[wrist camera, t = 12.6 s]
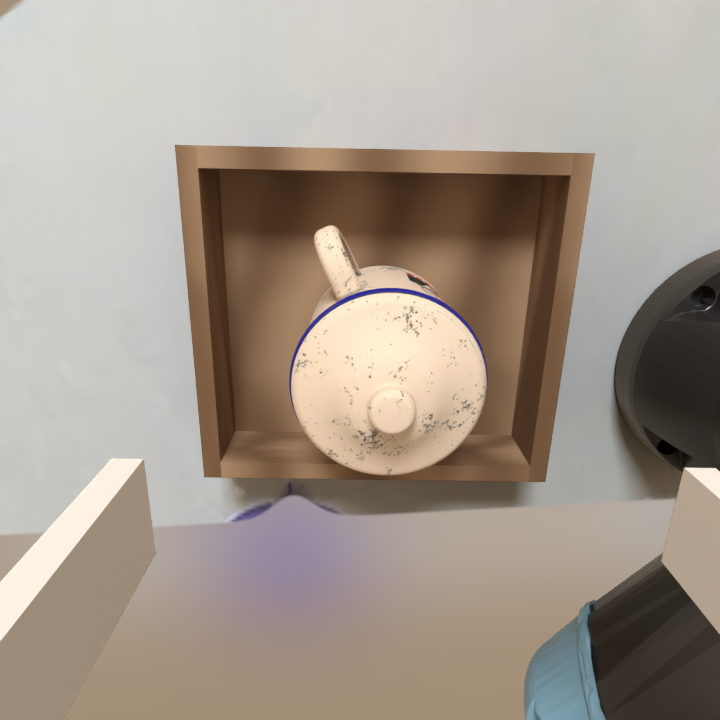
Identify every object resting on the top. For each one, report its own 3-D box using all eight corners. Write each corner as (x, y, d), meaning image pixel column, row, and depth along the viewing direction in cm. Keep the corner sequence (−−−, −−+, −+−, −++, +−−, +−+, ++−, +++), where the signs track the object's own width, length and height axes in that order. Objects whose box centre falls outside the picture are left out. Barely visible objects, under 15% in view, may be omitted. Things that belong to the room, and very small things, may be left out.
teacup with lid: (476, 370, 33) (536, 465, 22) (344, 424, 34) (337, 541, 23) (402, 185, 29) (429, 188, 18) (257, 253, 30) (200, 294, 19)
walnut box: (557, 157, 30) (594, 153, 25) (520, 441, 36) (545, 481, 31) (204, 151, 30) (175, 145, 25) (224, 437, 35) (204, 477, 31)
